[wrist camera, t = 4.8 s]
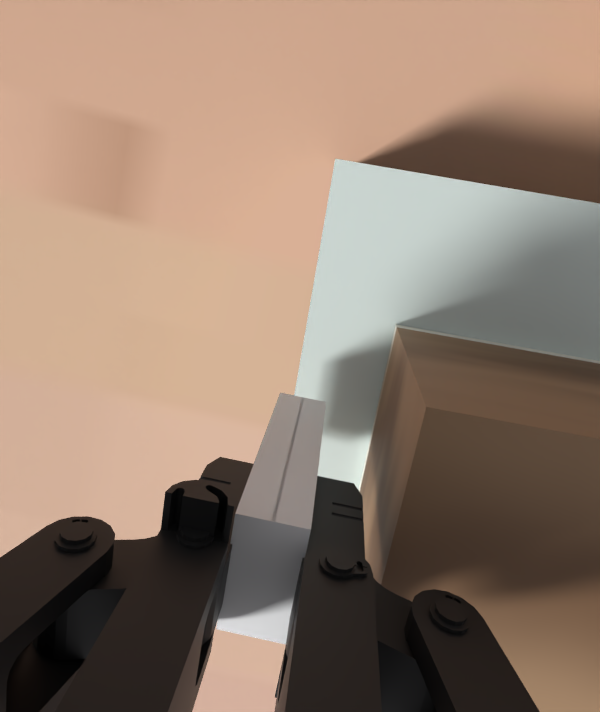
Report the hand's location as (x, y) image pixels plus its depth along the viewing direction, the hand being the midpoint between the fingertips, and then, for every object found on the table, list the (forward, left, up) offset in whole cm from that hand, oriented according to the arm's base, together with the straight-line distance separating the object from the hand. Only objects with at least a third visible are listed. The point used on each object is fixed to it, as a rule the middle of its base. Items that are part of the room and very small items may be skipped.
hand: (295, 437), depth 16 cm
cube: (0, +6, -2) cm, 6 cm away
